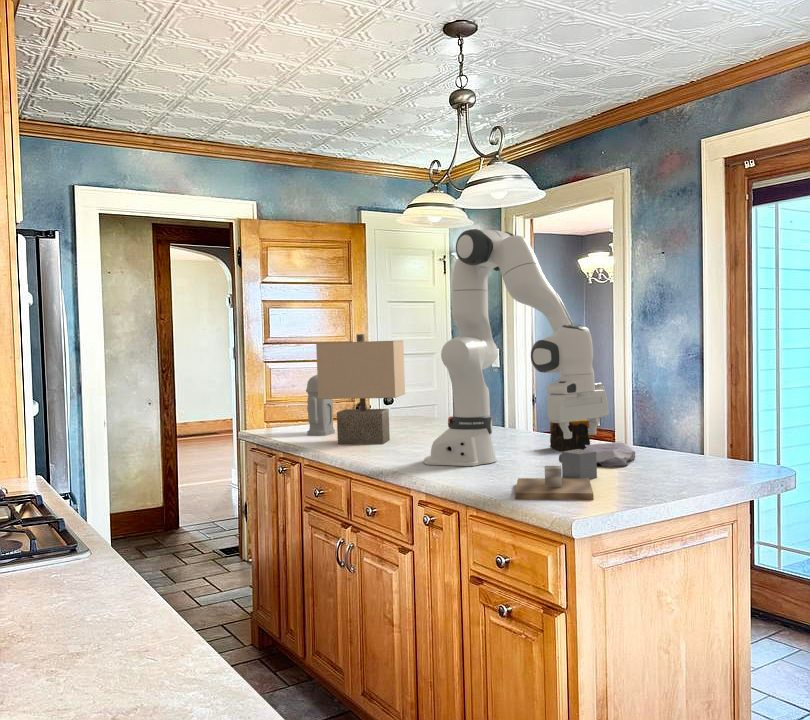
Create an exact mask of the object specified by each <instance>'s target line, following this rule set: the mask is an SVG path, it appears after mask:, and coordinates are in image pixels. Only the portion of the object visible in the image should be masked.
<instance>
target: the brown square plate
mask: <svg viewBox="0 0 810 720" xmlns="http://www.w3.org/2000/svg"><path fill="white" fill-rule="evenodd" d="M590 480H591V479H589V478H562V465H544V477H543V478H541V477H540V478H539V477H537V478H536V477H535V478H534V477H532V478H531V477H530V478H529V477H527V478H525V477H523V478H522V477H521V478H520V477H519V478H517V482H516V485H515V492H514V500H564V499H572V500H573V499H574V500H573V501H575V499H576V500H580V501H583V500H584V501H585V500H586V501H587V500H588V501H591V500H594V499H595V498H594V491H593V490H594V489H593V487H592V484H591V481H590Z"/></svg>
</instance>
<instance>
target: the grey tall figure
mask: <svg viewBox="0 0 810 720" xmlns="http://www.w3.org/2000/svg"><path fill="white" fill-rule="evenodd" d="M306 383H307V384H306V390H305V392H306V393H307V396H308V397H307V398H306V399H307V407H306V408H307V409H306V410H307V417H308V419H307V420H308V423H309V429H308V430H307V433H306V434H307V436H311V437H312V436H315V437H316V436H320V437H321V436H322V437H325V436H329V435H332V434H335V433H336V431H335V428H334V405H333V404H334V401H333V400H334V399H318V378H317V374H315V375H313V376H312V377H310V378H309V379H308V380H307V382H306Z"/></svg>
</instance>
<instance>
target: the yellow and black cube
mask: <svg viewBox="0 0 810 720" xmlns="http://www.w3.org/2000/svg"><path fill="white" fill-rule="evenodd" d="M549 428H550V429H549V431H550V435H549V441H550V442H549V443H550V445H549V447H550V449H552V450H557V451H561V452H563V451H569V450H576V449H581V450H584V449H585V448H586V447H585V445H591V435H589V434H588V428H590V419H583V420H577V421H570V422H569V426H568V428H569V431H570V432H572V438H570V439H564V435H563V431H562V429H561V427H560V423H552V422H550V421H549Z"/></svg>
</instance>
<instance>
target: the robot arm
mask: <svg viewBox="0 0 810 720" xmlns="http://www.w3.org/2000/svg"><path fill="white" fill-rule="evenodd" d="M455 242H456V243H455V254H456V257H457V259H456V260H455V262H454V266H453V267H454V268H453V271H452V272H453V273H452V281H451V314H452V319H453V320H454V322H455V323H456V324H455V325H456V327H457V331H458V335H459V336H455V337H453V338H451V339H450V340H447V341H446V342H445V343H444V345H443V346H442V349H441V351H440V357H441V361H442V364H443V365H444V366H445V367H446V369H447V372H448V375H449V380H450V383H451V385H452V386H451V387H452V394H453V409H454V410H453V411H454V412H453V414H454V415H451V416H449V417H448V418H447V427H448V429H446V430H445V431H444V432H443V433H441V434H440V435H439V436H438V437H437V438H436V439H434V440H433V442H432V445H431V449H430V455H427V456H425V458H424V459H423V463H424V464H425V465H427V466H428V465H429V466H430V465H432V466H453V467H454V466H458V467H459V466H460V467H476V466H478V465H486V464H492V463H495V462H496V461H497V457H496V453H495V450H494V445H493V439H492V433H493V419H492V415H491V407H490V406H491V405H490V390H489V387H488V386H487V383H486V382H485V378H484V374H483V370H486V369H487V368H489V367H491V366H493V364H494V363H495V362H496V361H497V359H498V356H499V355H498V354H499V350H498V346H497V345H496V343H495V342H494V338H493V333H492V328H491V325H490V318H489V296H488V295H489V290H488V289H489V288H488V287H489V286H488V283H489V282H488V281H489V279H488V278H489V274H490V272H491V271H492V270H494V271H496V272H498V271H500V274H501V277H502V280H503V283H504V285H505V288H506V291H507V292H508V294H509V295H510V297H511V298H512V299H513V300H515V301H516V302H518V303H519V304H523V305H526V306H529V307H531V308H533V309H535V310H537V311H538V312H540V313H541V314H543V316H544V317H545V319H547V322H548V323H549V326H550V327H551V329H552V332H553V333H552V334H551V335H549V336H547V337H545V338H542V339H539V340H536V342H535V343H533V345H532V347H531V350H530V362H531V364H532V366H533V368H534V369H535V370H536V371H538V372H539V373H544V374H554V373H555V374H558V373H560V375H559V376H560V378H558V379H557V380H556V381H554V382H552V383H550V384H549V385H547V387H546V390H547V391H546V393H547V394H549V395H548V396H547V400H546V401H547V402H546V403H547V405H546V406H547V408H546V409H547V419H548V420H549V423H550V422H552V423H560V427H561V429H562V431H563V435H564V439H570V438H572V432H570V431H569V428H568V426H569V422H570V421H577V420H583V419H585V420H589V422H590V424H589V428H588V434H589V435H590V436H593V435H597V434H598V432H597V429H598V426H599V423H600V418H605V417H607V416H608V415H609V413H610V406H609V401H608V395H607V392H606V387H605V386H604V384H602V383H601V382H595V371H594V368H593V360H594V345H593V339H592V334H591V331H590V329H589V328H588V327H586V326H585V325H580V324H575V323H574V322H573V319H572V317H571V316H570V313H569V311H568V310H567V308H566V306H565V304H564V302H563V301H562V298H561V297H560V295H559V294H558V292H557V291H556V290H555V289H554V288H553V287H552V285H551V284H550V283H549V280H548V279H547V278H546V275H545V274H544V273H543V270H542V267H541V265H540V263H539V260H538V258H537V256H536V254H535V252H534V250H533V248H532V246H531V245H530V243H529V241H528V240H527V239H526V238H525V237H524V236H521V235H515V234H514V233H511V232H510V231H509V232H508V231H502V230H496V229H479V228H478V229H477V228H474V229H468V230H467V229H466V230H464V231H463V232H461V233H460V234H459V235H458V237H457V239H456V241H455Z"/></svg>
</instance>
